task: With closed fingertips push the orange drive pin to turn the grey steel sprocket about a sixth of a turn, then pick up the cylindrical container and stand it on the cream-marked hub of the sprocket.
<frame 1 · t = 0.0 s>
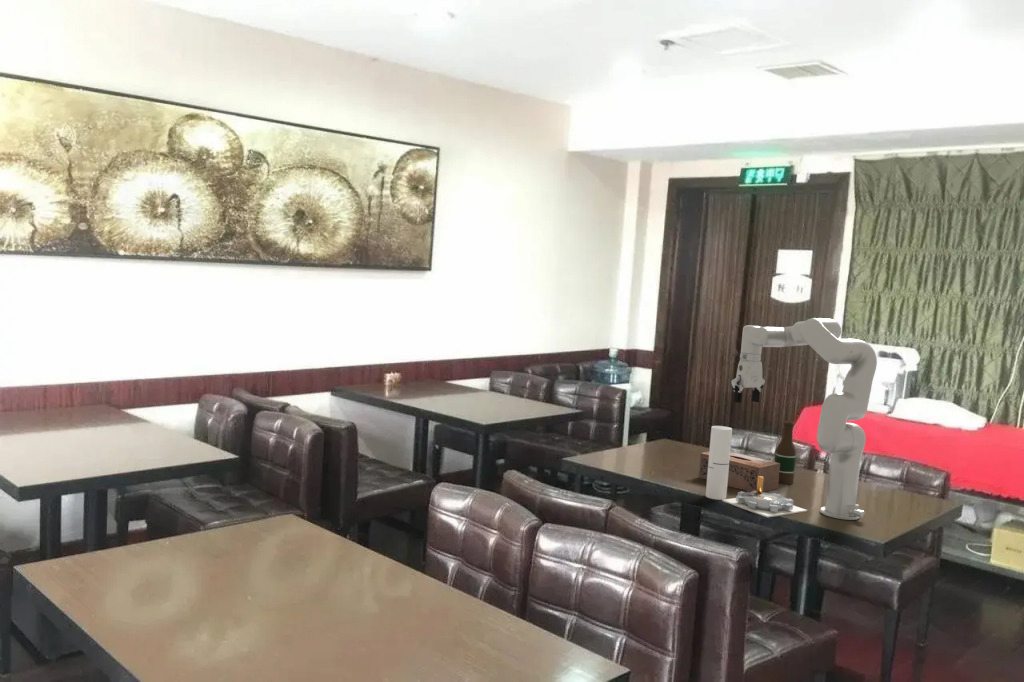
hand: (746, 402, 315), 31 cm above the table, fingers open, 9 cm apart
cylindrical container: (715, 497, 293), on the table
tissue box cover: (737, 484, 316), on the table
beer bottle: (783, 482, 323), on the table
sprocket: (765, 492, 284), point 5 cm above the table, hinge at -30.0°
sprocket base: (764, 506, 285), on the table
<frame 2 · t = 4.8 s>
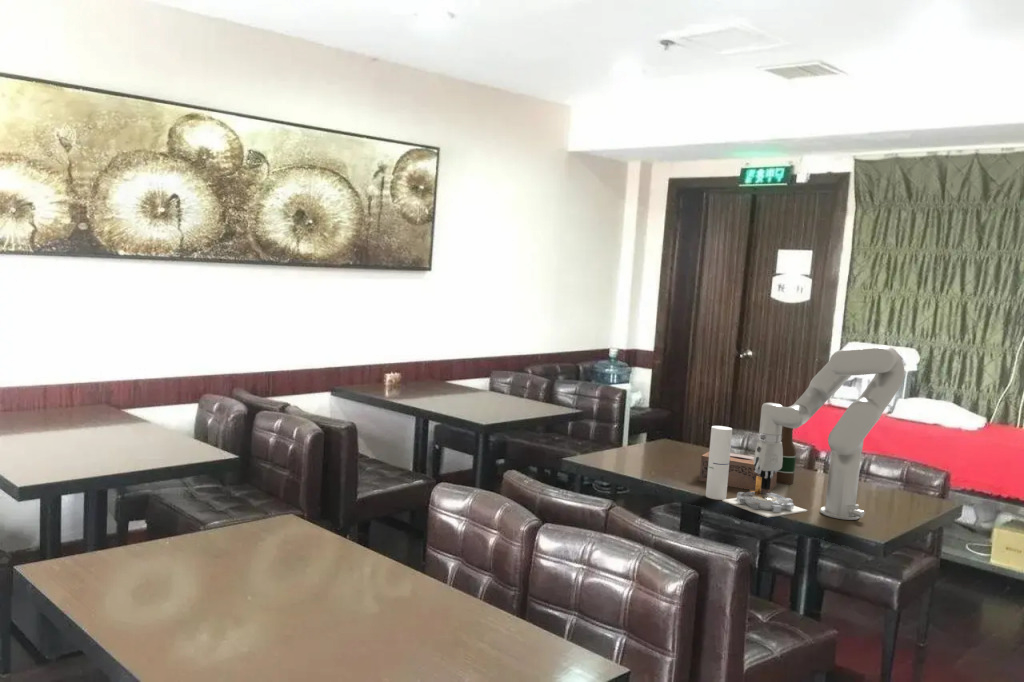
hand: (764, 488, 293), 4 cm above the table, fingers closed
sprocket: (765, 492, 284), point 5 cm above the table, hinge at -24.3°, touching gripper
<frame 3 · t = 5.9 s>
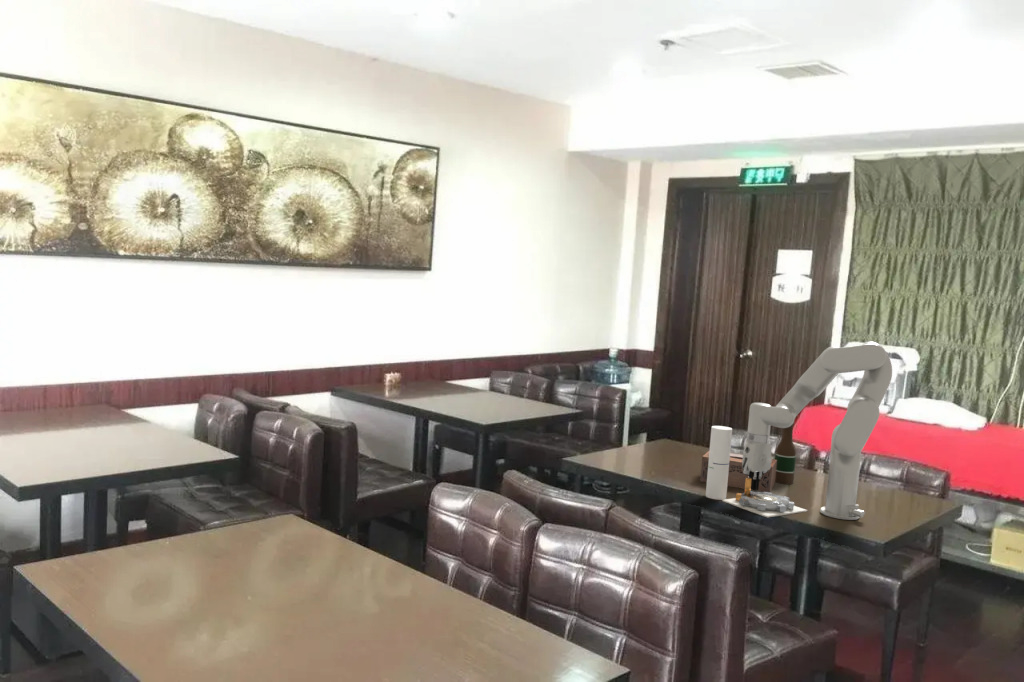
hand: (753, 489, 289), 4 cm above the table, fingers closed
sprocket: (765, 492, 284), point 5 cm above the table, hinge at 34.5°, touching gripper
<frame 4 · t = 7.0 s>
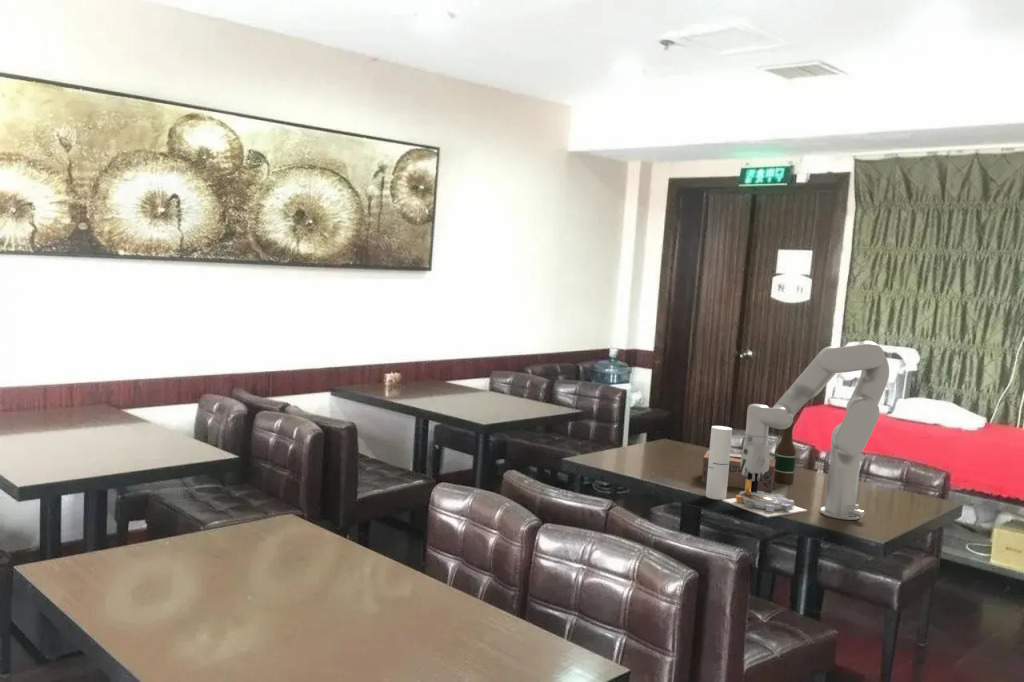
hand: (752, 491, 288), 4 cm above the table, fingers closed
sprocket: (765, 492, 284), point 5 cm above the table, hinge at 51.7°
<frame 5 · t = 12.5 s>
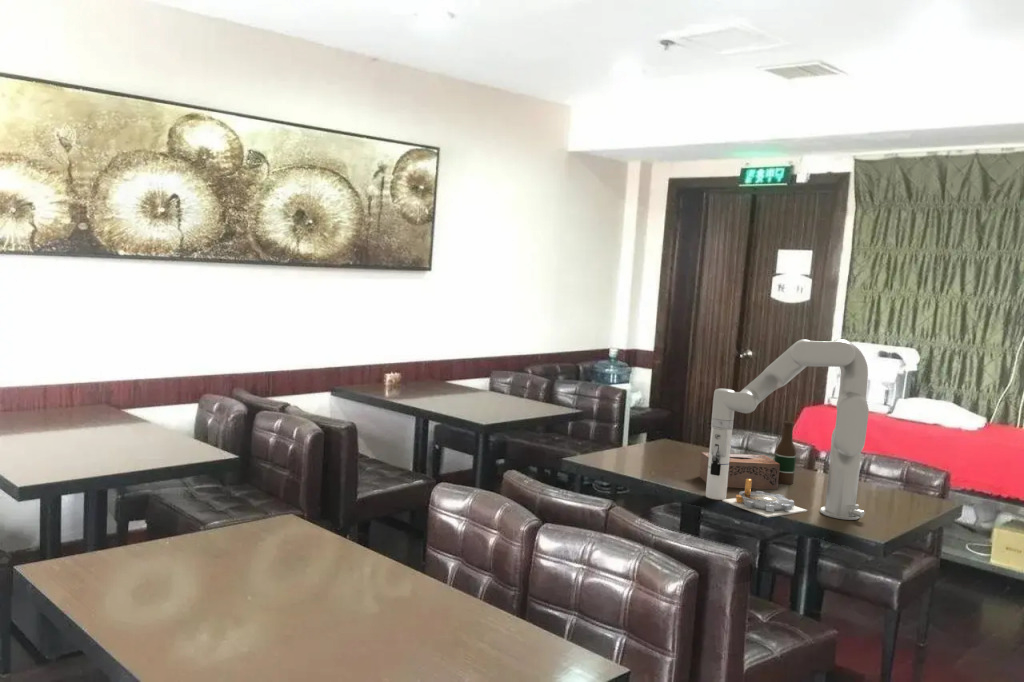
hand: (717, 472, 293), 9 cm above the table, fingers closed on cylindrical container, 7 cm apart
cylindrical container: (715, 497, 293), on the table, touching gripper
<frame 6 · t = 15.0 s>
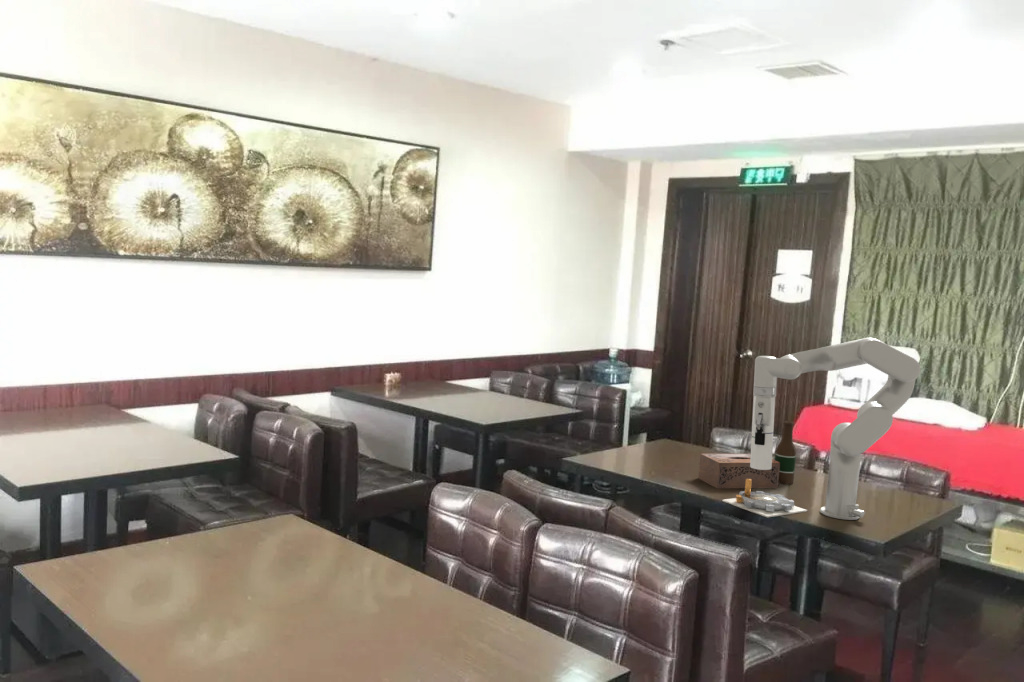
hand: (762, 442, 285), 22 cm above the table, fingers closed on cylindrical container, 7 cm apart
cylindrical container: (760, 468, 285), point 13 cm above the table, touching gripper
when the fingers open (13 cm above the table, at t = 17.6 s): cylindrical container drops 1 cm, resting on sprocket.
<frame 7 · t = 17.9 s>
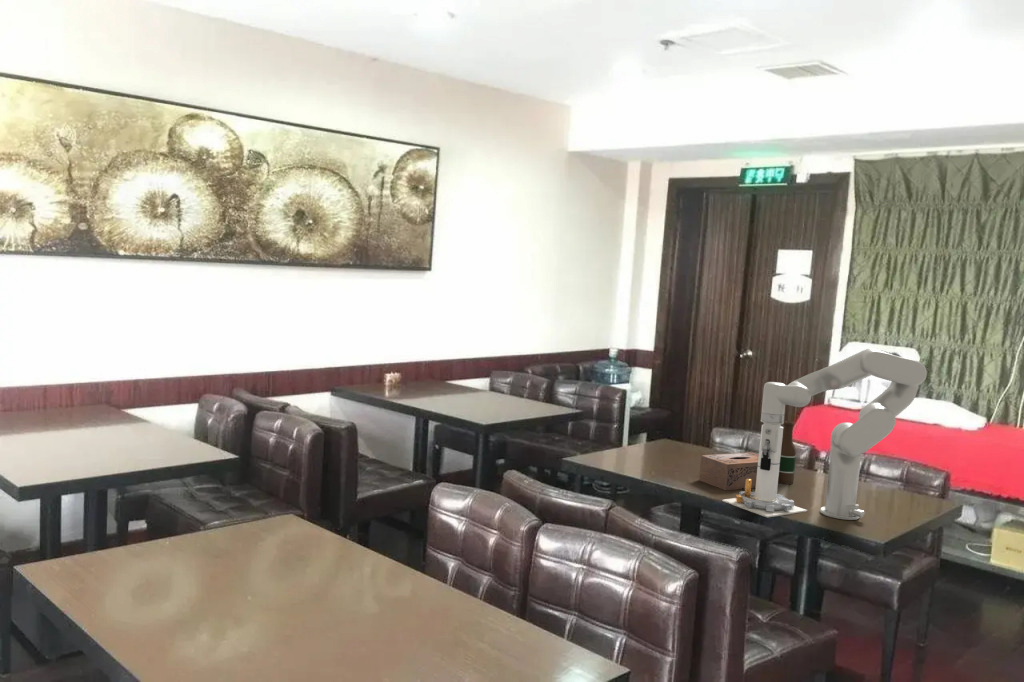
hand: (767, 467, 284), 14 cm above the table, fingers open, 9 cm apart
cylindrical container: (765, 498, 285), point 3 cm above the table, touching sprocket
sprocket: (765, 492, 284), point 5 cm above the table, hinge at 51.7°, touching cylindrical container
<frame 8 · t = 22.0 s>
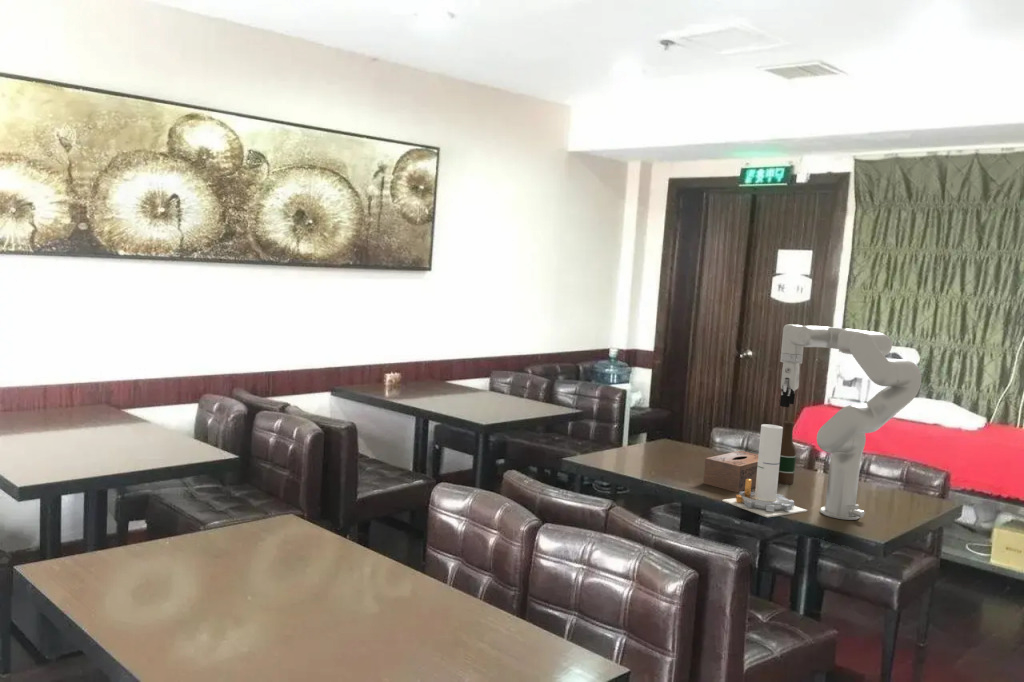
hand: (787, 405, 299), 33 cm above the table, fingers open, 9 cm apart
at the end: sprocket at +52° (first picture: -30°); cylindrical container 0.1 cm from the sprocket (horizontally); cylindrical container tilted 0° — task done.
